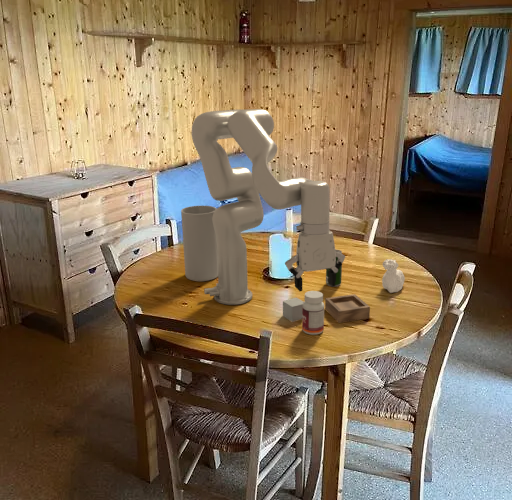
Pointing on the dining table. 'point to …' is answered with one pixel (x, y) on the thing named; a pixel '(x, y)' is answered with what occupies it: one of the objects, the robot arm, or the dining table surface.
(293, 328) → the dining table surface
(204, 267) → the cylinder vase
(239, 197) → the robot arm
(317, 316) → the pill bottle
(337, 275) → the beer can
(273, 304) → the dining table surface
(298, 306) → the grey cube
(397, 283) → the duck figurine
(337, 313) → the brown square tray
